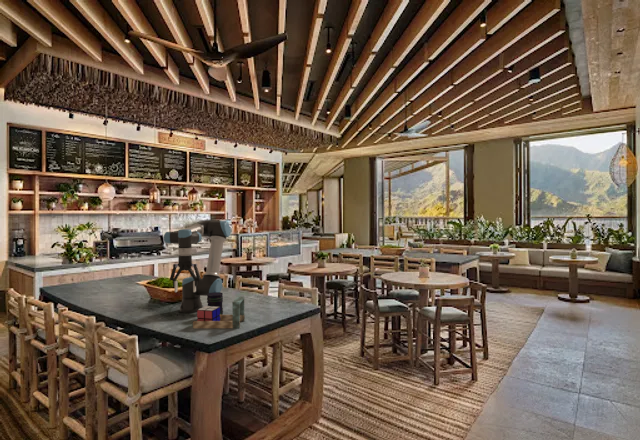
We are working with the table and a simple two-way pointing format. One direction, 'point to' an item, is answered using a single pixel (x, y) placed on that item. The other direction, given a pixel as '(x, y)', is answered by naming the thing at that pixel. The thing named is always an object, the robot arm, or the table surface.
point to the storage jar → (215, 300)
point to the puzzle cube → (208, 313)
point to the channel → (226, 317)
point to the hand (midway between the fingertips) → (185, 291)
